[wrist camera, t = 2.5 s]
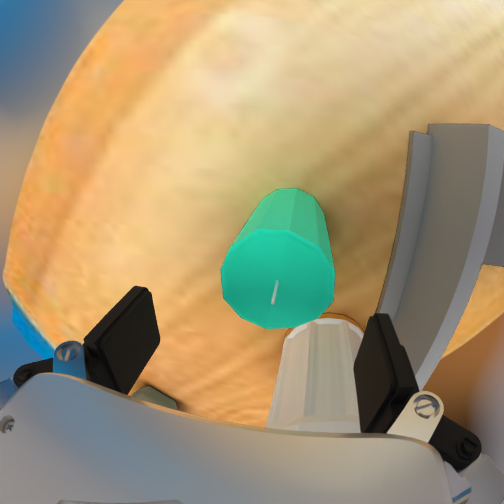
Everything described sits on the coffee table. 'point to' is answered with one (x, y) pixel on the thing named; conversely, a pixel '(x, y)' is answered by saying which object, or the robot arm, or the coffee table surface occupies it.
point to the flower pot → (154, 397)
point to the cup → (318, 377)
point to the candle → (281, 263)
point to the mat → (497, 234)
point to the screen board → (441, 236)
